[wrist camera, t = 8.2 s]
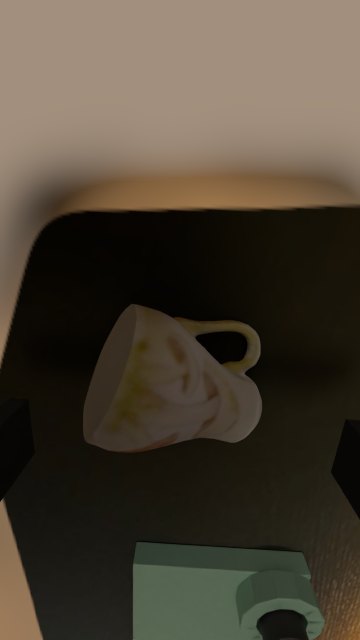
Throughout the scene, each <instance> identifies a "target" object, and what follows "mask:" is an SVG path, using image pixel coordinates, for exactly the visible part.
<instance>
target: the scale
mask: <svg viewBox="0 0 360 640" xmlns="http://www.w3.org/2000/svg"><path fill="white" fill-rule="evenodd" d="M310 578H311V575H310V572H309V569H308V566H307V564H306V561H305V558H304V555H303V553H302V552H289V551H273V550H257V549H242V548H226V547H210V546H195V545H179V544H163V543H148V542H137V543H136V549H135V555H134V561H133V640H263V638H262V633H261V628H260V622H259V618H260V617H261V616H262V615H264V614H265V613H267V612H270V611H274V610H278V609H288V610H294V611H296V612H298V613H300V614H301V615H302V619H303V622H304V625H305V629H306V632H307V635H308V639H309V640H313V639H315V638H316V637H317V636H319V635H320V634H321V631H322V628H323V626H324V623H325V620H324V617H323V614H322V611H321V608H320V606H319V603H318V600H317V597H316V594H315V592H314V590H313V588H312V586H311V584H310V582H309V581H310Z"/></svg>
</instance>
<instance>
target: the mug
mask: <svg viewBox="0 0 360 640" xmlns="http://www.w3.org/2000/svg"><path fill="white" fill-rule="evenodd" d="M220 331H234V332H238V333H241V334H242V335H243V336H244V337H245V338H246V340H247V343H248V346H247V351H246V355H245V357H244V358H243V359H242V360H241V361H239V362H232V361H230V362H227V363H224V364H220V363H219V362H217V361H216V360H215V359H214V358H213V357H212V356H211V355H210V354H209V352H208V351H207V350H206V349H205V348H204V347H203V346H202V345H200V344H199V342H198V341H197V340H196V339H195V337H196V336H197V335H200V334H206V333H212V332H220ZM259 356H260V339H259V336H258V334H257V333H256V331H255V330H254V329H252V328H251V327H250V326H249V325H247V324H245V323H242V322H239V321H234V320H223V321H194V320H188V319H185V318H180V317H175V318H172V317H170V316H168V315H166V314H164V313H162V312H160V311H157V310H154V309H151V308H147V307H144V306H140V305H134V304H131V305H130V306H129V307H128V308H126V309H125V311H124V312H123V313H122V314H121V316H120V317H119V318H118V320H117V322H116V324H115V326H114V327H113V329H112V331H111V333H110V335H109V337H108V339H107V341H106V343H105V344H104V347H103V349H102V352H101V354H100V357H99V359H98V362H97V365H96V368H95V371H94V374H93V377H92V380H91V383H90V387H89V390H88V393H87V397H86V401H85V405H84V416H83V433H84V439H85V440H86V442H87V443H89V444H93V445H96V446H99V447H101V448H104V449H106V450H110V451H115V452H140V451H146V450H151V449H155V448H159V447H163V446H167V445H170V444H173V443H178V442H181V441H185V440H190V439H194V438H212V439H218V440H222V441H227V442H232V443H233V442H237V441H240V440H242V439H244V438H245V437H247V435H248V434H249V433H250V432H251V431H252V430H253V429H254V428H255V426H256V425H257V423H258V422H259V419H260V416H261V411H262V401H261V397H260V394H259V391H258V388H257V386H256V385H255V383H254V382H253V381H252V380H251V379H250V378H249V377H247V376H246V375H245V372H246V371H247V370H248V369H249V368H251V367H252V366H254V365H255V364H256V363H257V361H258V359H259Z"/></svg>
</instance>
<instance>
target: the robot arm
mask: <svg viewBox="0 0 360 640" xmlns="http://www.w3.org/2000/svg"><path fill="white" fill-rule="evenodd" d="M34 454H35V451H34V443H33V436H32V428H31V420H30V412H29V405H28V399H14V398H9V399H8V400H7V401H6V402H5V403H4V404H2V405H1V406H0V501H1V500H2V499H3V497H4V496H5V494H6V493H7V491H8V490H9V489H10V487H11V486H12V484H13V483H14V482H15V480H16V479H17V477H18V476H19V475H20V473H21V472H22V470H23V469H24V468H25V466H26V465H27V463H28V462H29V461H30V459H31V458H32V456H33V455H34ZM331 473H332V475H333V476H334V478H335V480H336V481H337V483H338V485H339V486H340V488H341V490H342V491H343V493H344V494H345V496H346V498H347V499H348V501H349V503H350V504H351V506H352V508H353V509H354V511H355V512H356V514H357V516H358V517H359V519H360V420H348V419H346V420H345V424H344V427H343V431H342V435H341V438H340V442H339V445H338V449H337V453H336V456H335V460H334V463H333V467H332V471H331Z"/></svg>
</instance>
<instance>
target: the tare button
mask: <svg viewBox="0 0 360 640" xmlns="http://www.w3.org/2000/svg"><path fill="white" fill-rule="evenodd" d="M259 622H260V628H261V633H262V638H263V640H309V639H308V635H307V632H306V629H305V625H304V622H303V619H302V615H301V614H300V613H298V612H296V611H294V610H288V609H278V610H274V611H270V612H267V613H265V614H264V615H262V616H261V617H260V618H259Z"/></svg>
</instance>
